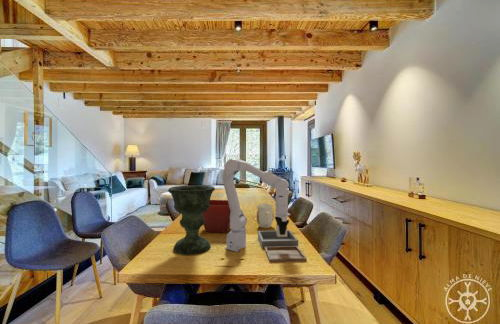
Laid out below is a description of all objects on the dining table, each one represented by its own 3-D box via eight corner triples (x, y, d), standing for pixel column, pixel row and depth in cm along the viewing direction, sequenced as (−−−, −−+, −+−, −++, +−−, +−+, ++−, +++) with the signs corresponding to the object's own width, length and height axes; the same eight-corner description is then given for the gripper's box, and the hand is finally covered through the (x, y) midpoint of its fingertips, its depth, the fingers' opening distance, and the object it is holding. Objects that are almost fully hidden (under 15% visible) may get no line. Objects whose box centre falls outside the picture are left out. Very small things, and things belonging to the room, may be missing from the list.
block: (287, 236, 128) (287, 227, 128) (277, 236, 128) (277, 227, 128) (285, 233, 133) (285, 224, 133) (276, 233, 133) (276, 224, 132)
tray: (306, 262, 117) (306, 258, 117) (269, 264, 116) (269, 259, 115) (297, 249, 133) (297, 245, 133) (264, 250, 131) (264, 246, 131)
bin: (298, 248, 135) (298, 240, 135) (261, 249, 133) (261, 241, 133) (290, 237, 153) (290, 230, 153) (257, 238, 151) (257, 230, 151)
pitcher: (259, 231, 165) (259, 208, 165) (254, 223, 183) (254, 203, 182) (277, 230, 167) (277, 208, 166) (270, 223, 184) (270, 202, 184)
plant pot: (236, 226, 177) (236, 200, 177) (231, 234, 158) (231, 205, 158) (207, 225, 179) (207, 199, 179) (198, 233, 160) (198, 204, 160)
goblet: (222, 244, 141) (222, 186, 140) (199, 259, 120) (198, 191, 119) (187, 239, 149) (186, 184, 149) (158, 252, 128) (158, 189, 128)
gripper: (293, 207, 123) (293, 237, 123) (286, 201, 138) (286, 228, 138) (277, 207, 123) (277, 237, 123) (272, 201, 137) (272, 228, 138)
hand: (281, 232), depth 130 cm, fingers closed on block, 4 cm apart
